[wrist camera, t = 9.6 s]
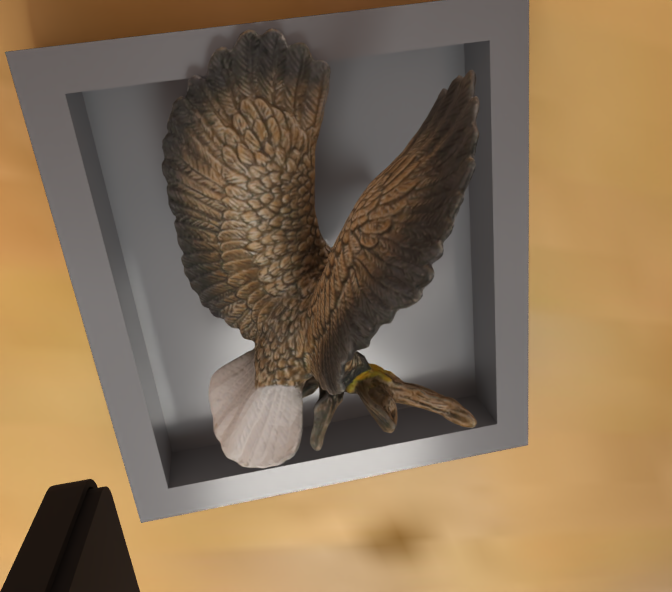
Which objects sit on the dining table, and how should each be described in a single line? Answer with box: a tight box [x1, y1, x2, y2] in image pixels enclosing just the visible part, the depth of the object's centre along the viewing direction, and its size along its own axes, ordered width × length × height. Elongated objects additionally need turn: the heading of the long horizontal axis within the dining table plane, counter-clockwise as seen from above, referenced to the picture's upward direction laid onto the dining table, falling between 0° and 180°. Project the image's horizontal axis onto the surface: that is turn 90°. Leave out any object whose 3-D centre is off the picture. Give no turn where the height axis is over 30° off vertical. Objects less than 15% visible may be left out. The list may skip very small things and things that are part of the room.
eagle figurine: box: [162, 28, 479, 468], centre depth 15 cm, size 8×7×9 cm
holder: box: [5, 0, 529, 523], centre depth 18 cm, size 12×13×2 cm
